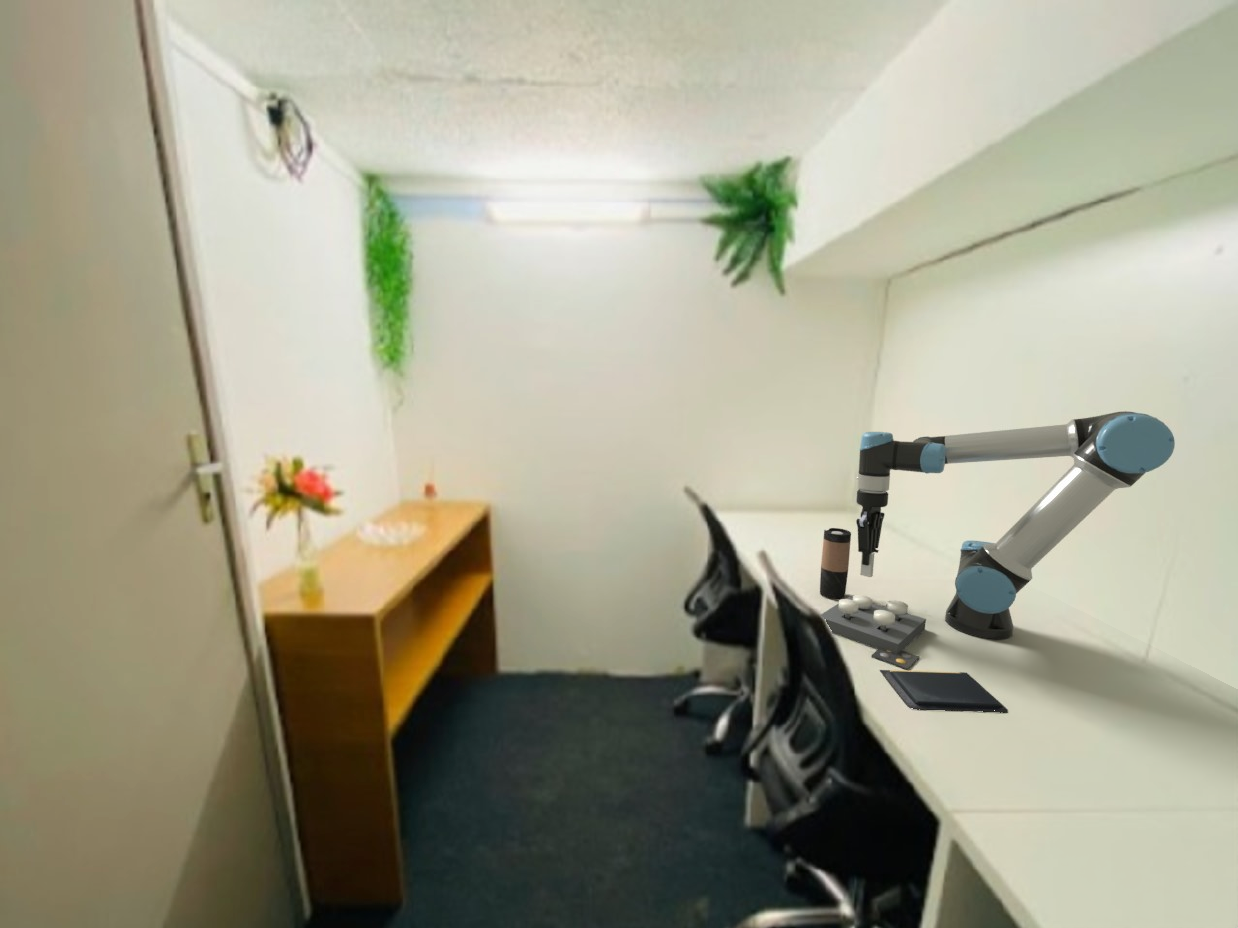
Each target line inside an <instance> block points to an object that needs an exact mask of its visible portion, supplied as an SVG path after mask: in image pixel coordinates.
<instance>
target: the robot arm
mask: <svg viewBox="0 0 1238 928" xmlns="http://www.w3.org/2000/svg"><path fill="white" fill-rule="evenodd" d="M860 441H861V442H860V447H859V461H858V463H859V464H858V476H856V480H857V488H858V490H857V491H856V504H857V505H859V506H861V507H862V508H861V512H860V518H857V519H856V521H855V522H856V526H857V543H858V546H857V548H858V549H857V552H859V553H861V560H860V562H861V563H860V572H859V573H860V576H864V577H867V578H872V577H873V576H874V575H873V574H874V564H875V563H874V562H875V553H876V554H877V553H879V551H880V549H879V544H880V539H881V533H882V527H883V521H884V518H885V512H882V508H885V507H887V506H888V504H889V502H888V501H889V492H888V491H889V490H890V480H891V470H892V471H893V470H894V471H903V472H904V471H905V472H914V473H924V474H942V473H943V472H944V470H945V465H948V464H965V463H978V462H980V463H981V462H992V461H993V462H994V461H995V462H996V461H1007V460H1012V461H1013V460H1024V459H1042V458H1055V457H1056V458H1057V457H1071V458H1072V459H1073V465H1072V466H1071V467H1070V468H1069V469H1067V471H1066V472H1065V473H1064V474H1063V475H1062V476H1061V477H1060V478H1059V479H1058V480H1057V481H1056V482H1054V484H1053V485H1052V486H1051V487H1050V488H1049V489H1048V490H1047V491H1046V492H1045V493H1044V494H1043V495H1042V496H1041V497H1040V499H1038V500H1037V501H1036V502H1035V503H1034V504H1033V505H1032V506H1031V507H1030V509H1028V510H1027V511H1026V512H1025V513H1024V514H1023V515H1022V516H1021V517H1020V519H1018V521H1016V522H1015V524H1013V525H1012V527H1011V528H1009V530H1007V531H1006V533H1005V534H1003V535H1002V536H1001V538H1000V539H999V540H998V541H996V543H993V542H988V541H981V540H964V542H963V543H962V545H961V548H960V557H959V565H958V571H957V575H956V577H955V580H954V581H955V582H954V586H955V594H954V596H953V598H952V600H951V602H950V603H949V605H948V607H947V608H946V611H945V616H944V619H945V622H946V623H947V625H949V626H950V627H952V628H954V629H955V630H957V631H960V632H961V633H964V634H967V635H970V636H974V637H978V638H984V639H987V640H988V639H989V640H1005V639H1008V638H1012V636H1013V632H1014V624H1013V623H1014V622H1013V620H1012V615H1011V612H1010V611H1011V610H1010V607H1012V605H1013V603H1014V602H1015V600H1016V597H1017V594H1018V593H1019V592H1020V591H1021V590H1022V589H1023V588H1025V586H1026V585H1027V584H1029V582H1030V581H1032V580H1033V572H1032V569H1033V568H1034V567H1035V566H1036V565H1037V564H1038V563H1039V562H1040V561H1042V559H1043V558H1044V557H1045V556H1047V555H1048V554H1049V553H1050V552H1051V551H1052V550H1053V549H1054V548H1055V547H1056V546H1057V545H1058V544H1059V543H1060V542H1061V541H1062V540H1063V539H1064V538H1065V537H1067V536H1068V535H1069V534H1070V533H1071V532H1072V531H1073V530H1074V529H1075V528H1076V527H1077V526H1078V525H1079V524H1080V523H1081V522H1083V521H1084V520H1085V518H1087V517H1088V516H1089V515H1090V514H1091V513H1093V511H1095V509H1096V508H1097V507H1098V506H1099V505H1100V504H1101V503H1102V502H1104V501H1105V500H1106V499H1107V498H1108V497H1109V496H1110V495H1111V494H1112V493H1113V492H1114V491H1116V490H1117V489H1124V488H1131V487H1132V486H1133V485H1134V484H1136V483H1137V482H1138V481H1139V480H1140V479H1141V478H1142V477H1143V476H1144V475H1145V474H1146V473H1148V472H1152V471H1154V470H1156V469H1158V468H1160V467H1161V466H1163V465H1164V464H1165V463H1167V462H1168V460H1169V459H1170V458H1171V457H1172V455H1173V453H1174V450H1175V443H1176V442H1175V436H1174V433H1173V432H1172V430H1171V429H1170V428H1169V427H1168V426H1167V425H1166V424H1165V422H1164V421H1161V420H1160V419H1158V418H1157V417H1154V416H1152V415H1150V414H1146V413H1140V412H1135V411H1126V410H1125V411H1115V412H1111V413H1106V414H1101V415H1096V416H1090V417H1082V418H1076V419H1075V418H1074V419H1071V420H1070V421H1068V422H1067V423H1066V424H1065V423H1064V424H1058V425H1057V424H1056V425H1054V424H1053V425H1045V426H1034V427H1026V428H1025V427H1024V428H1016V429H1015V428H1012V429H1004V430H1003V429H1002V430H992V431H982V432H980V431H979V432H972V433H963V434H962V433H960V434H951V435H944V436H943V435H941V436H920V437H918V438H915V439H914V440H913V441H899V440H894V436H893V433H891V432H887V431H886V432H884V431H866V432H864V433H863V434H862V435H861V440H860Z"/></svg>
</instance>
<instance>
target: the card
mask: <svg viewBox="0 0 1238 928" xmlns="http://www.w3.org/2000/svg"><path fill="white" fill-rule="evenodd" d="M871 658H873V659H877V660H879V661H882V662H884V663H887V664H890V665H893V666H895V667H897V668H901V669H903V670H907V671H909V670H910V668H912V666H913V665H914V664H915V663H916V662H917V661H918V660H919V659H920V655H917V654H914V653H911V652H909V651H905V650H901V651H900V652H899V653H898V654H895V653H892V652H891V651H888V650H887V651H886V650H884V649H881V648H879V649H876V651H875V652H873V653H872V654H871Z"/></svg>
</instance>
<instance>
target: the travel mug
mask: <svg viewBox="0 0 1238 928" xmlns="http://www.w3.org/2000/svg"><path fill="white" fill-rule="evenodd" d="M851 540H852V532H851V531H849V530H847V529H843V528H838V527H831V528H830V527H829V528H828V529H824V530H823V541H822V542H823V543H822V550H821V551H822V552H821V563H820V579H819V594H820V596H822V597H824V598H827V599H830V600H837V601H839V600H841V599H845V597H846V591H847V584H848V583H847V581H848V576H849V575H848V574H849V564H850V552H851V551H850V549H851Z"/></svg>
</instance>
